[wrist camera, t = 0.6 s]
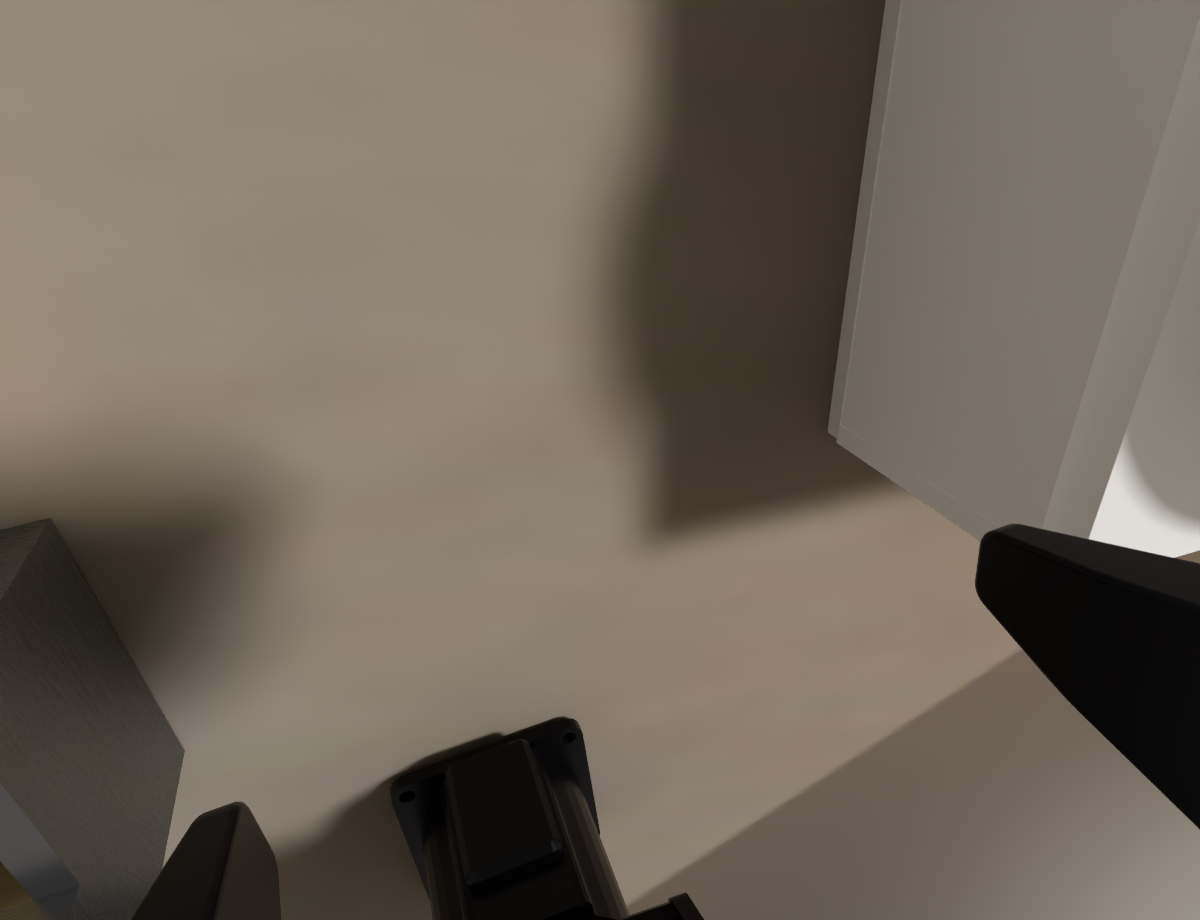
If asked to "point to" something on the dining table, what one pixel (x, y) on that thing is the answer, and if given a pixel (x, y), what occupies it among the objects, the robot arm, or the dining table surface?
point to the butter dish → (1032, 268)
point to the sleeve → (75, 744)
